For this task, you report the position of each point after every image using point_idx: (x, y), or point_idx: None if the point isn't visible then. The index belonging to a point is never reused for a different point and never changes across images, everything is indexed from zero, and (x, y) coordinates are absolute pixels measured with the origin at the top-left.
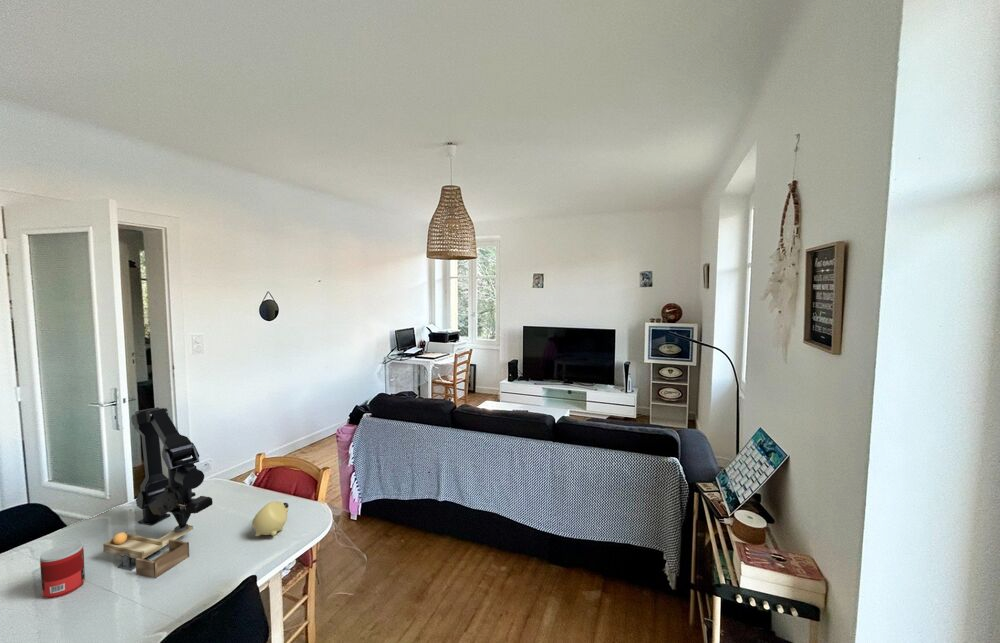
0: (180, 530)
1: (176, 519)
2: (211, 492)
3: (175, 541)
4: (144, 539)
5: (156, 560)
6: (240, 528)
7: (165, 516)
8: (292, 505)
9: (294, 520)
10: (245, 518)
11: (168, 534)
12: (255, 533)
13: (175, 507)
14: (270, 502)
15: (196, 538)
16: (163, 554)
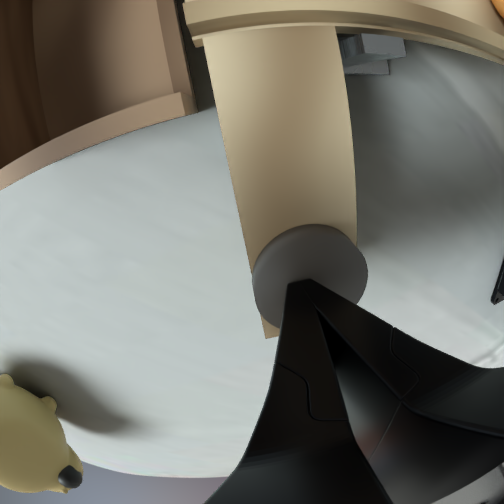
0: (267, 257)
1: (378, 328)
2: None
3: (83, 125)
4: (416, 7)
5: (158, 5)
6: (132, 394)
7: (501, 289)
8: (155, 467)
9: (66, 435)
10: (198, 424)
11: (338, 171)
12: (3, 381)
13: (475, 490)
14: (8, 488)
15: (225, 282)
16: (171, 49)
